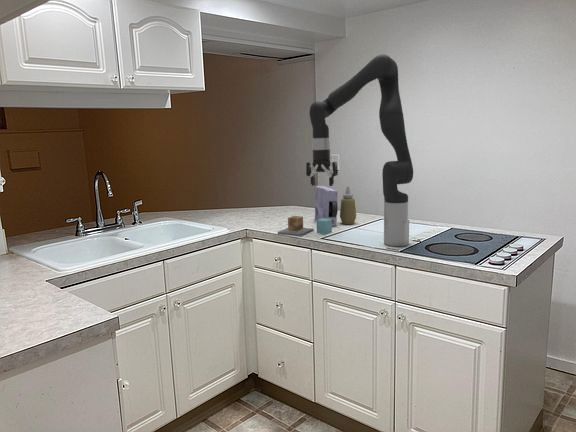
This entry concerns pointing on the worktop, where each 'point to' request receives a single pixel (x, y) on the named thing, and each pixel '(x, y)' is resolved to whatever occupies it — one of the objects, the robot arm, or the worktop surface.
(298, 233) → the base board
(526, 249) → the worktop surface
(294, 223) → the walnut block
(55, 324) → the worktop surface
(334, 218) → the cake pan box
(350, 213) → the squeeze bottle
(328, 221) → the teal block
